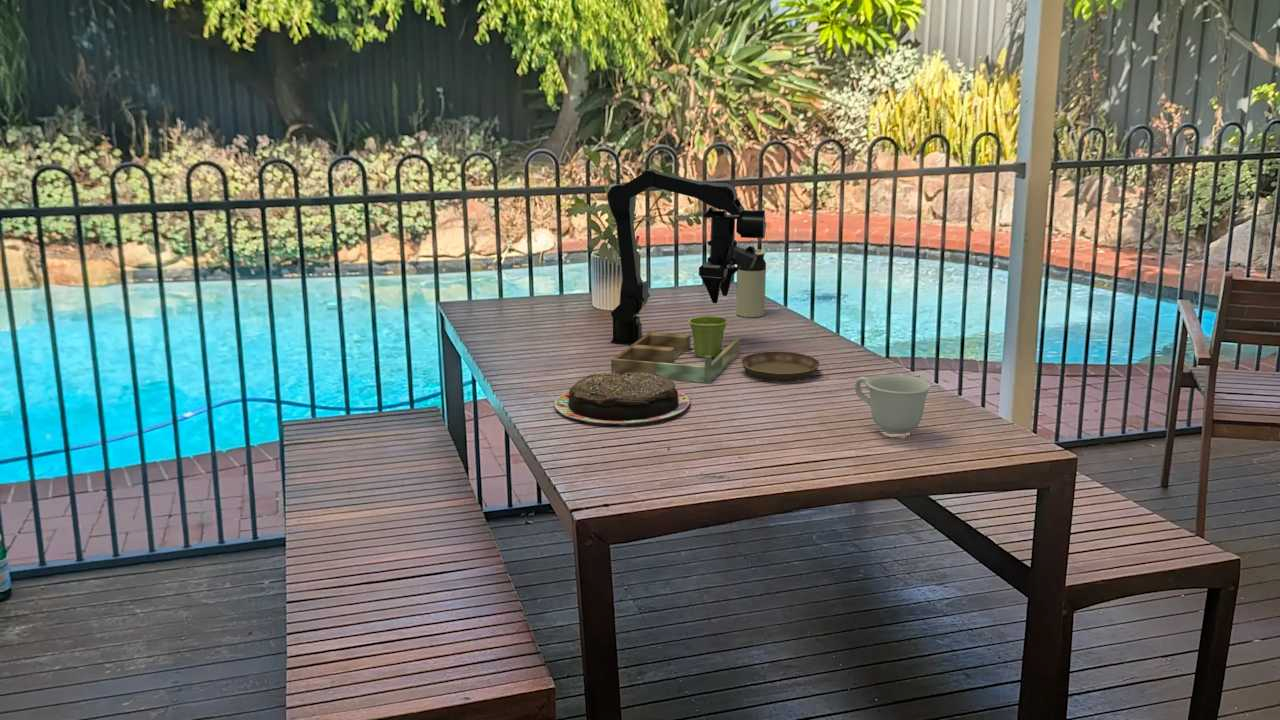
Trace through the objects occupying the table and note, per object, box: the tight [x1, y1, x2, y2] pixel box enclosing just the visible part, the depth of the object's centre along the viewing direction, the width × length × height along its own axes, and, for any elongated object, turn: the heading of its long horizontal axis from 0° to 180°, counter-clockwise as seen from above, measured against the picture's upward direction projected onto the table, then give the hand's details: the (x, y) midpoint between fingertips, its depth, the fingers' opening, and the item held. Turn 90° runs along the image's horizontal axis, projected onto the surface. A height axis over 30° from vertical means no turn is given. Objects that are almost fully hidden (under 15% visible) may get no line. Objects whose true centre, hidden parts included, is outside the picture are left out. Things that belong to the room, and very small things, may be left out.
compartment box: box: [610, 331, 741, 384], centre depth 254 cm, size 23×28×6 cm
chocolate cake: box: [553, 372, 691, 428], centre depth 222 cm, size 28×28×7 cm
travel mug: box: [735, 248, 767, 319], centre depth 301 cm, size 8×8×18 cm
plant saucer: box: [740, 351, 821, 383], centre depth 246 cm, size 18×18×3 cm
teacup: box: [854, 373, 933, 434], centre depth 205 cm, size 12×15×10 cm
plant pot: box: [688, 315, 728, 359], centre depth 260 cm, size 9×9×9 cm
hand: (719, 299), depth 267 cm, fingers open, 9 cm apart
